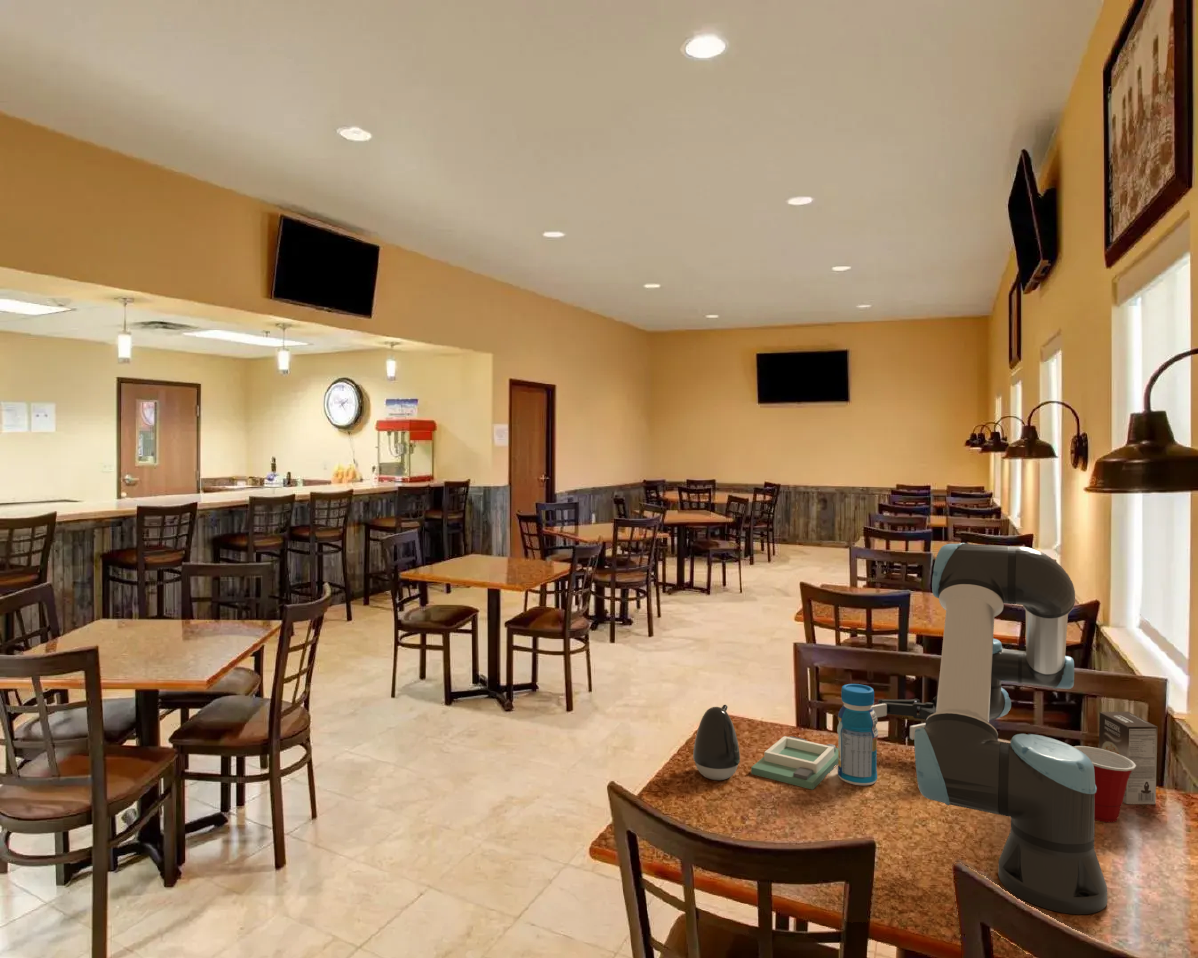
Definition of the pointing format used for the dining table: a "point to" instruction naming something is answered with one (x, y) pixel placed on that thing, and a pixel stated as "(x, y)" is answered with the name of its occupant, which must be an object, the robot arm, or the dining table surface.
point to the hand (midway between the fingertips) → (886, 722)
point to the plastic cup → (1108, 781)
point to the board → (797, 762)
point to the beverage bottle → (857, 736)
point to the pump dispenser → (716, 745)
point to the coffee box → (1132, 752)
